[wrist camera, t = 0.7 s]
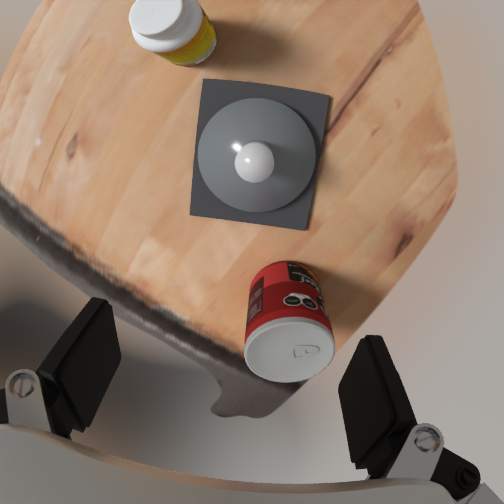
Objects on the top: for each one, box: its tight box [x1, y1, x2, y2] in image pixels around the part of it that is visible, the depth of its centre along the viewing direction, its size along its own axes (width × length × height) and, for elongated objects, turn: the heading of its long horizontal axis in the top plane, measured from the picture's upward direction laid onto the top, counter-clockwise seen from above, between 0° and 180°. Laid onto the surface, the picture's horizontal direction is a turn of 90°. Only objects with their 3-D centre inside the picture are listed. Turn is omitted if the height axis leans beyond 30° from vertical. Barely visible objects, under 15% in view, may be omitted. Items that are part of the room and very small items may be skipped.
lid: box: [198, 98, 316, 212], centre depth 25 cm, size 11×11×6 cm
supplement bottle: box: [129, 0, 217, 66], centre depth 19 cm, size 6×6×10 cm
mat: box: [190, 79, 330, 231], centre depth 28 cm, size 14×12×1 cm
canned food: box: [244, 261, 335, 382], centre depth 29 cm, size 8×8×11 cm
